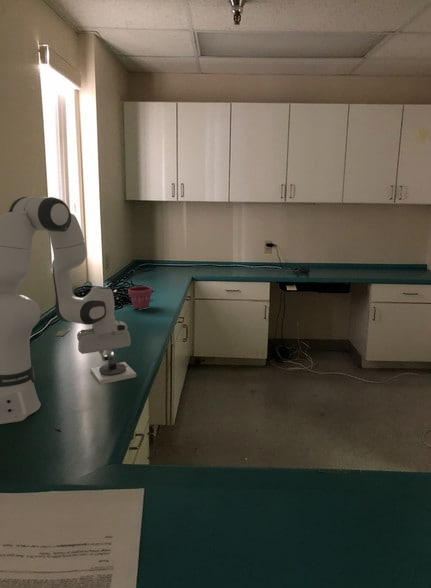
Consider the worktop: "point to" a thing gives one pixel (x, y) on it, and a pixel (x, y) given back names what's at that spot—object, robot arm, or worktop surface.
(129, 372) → the dial base
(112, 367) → the dial
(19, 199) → the robot arm
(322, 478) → the worktop surface
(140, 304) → the plant pot
